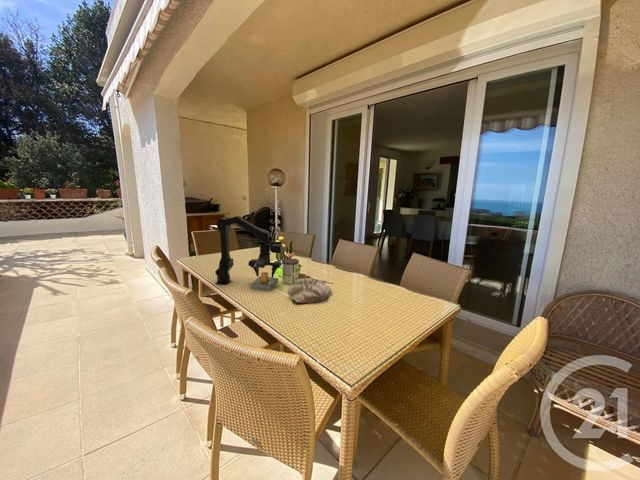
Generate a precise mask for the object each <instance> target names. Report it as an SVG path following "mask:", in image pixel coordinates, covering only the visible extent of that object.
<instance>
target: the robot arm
mask: <svg viewBox="0 0 640 480" xmlns="http://www.w3.org/2000/svg"><path fill="white" fill-rule="evenodd" d="M234 224H236V225H239V226H240V227H242V228H243V229H245V230H247V231H248V232H249V233H251V234H253V235H254V236H255V237H256V239H258V242H257V243H255V245H257V246H258V245H259V254H258V258H257V259H255V258H251V259H250V260H249V261H248V264H247V265H248V266H249V267H250V268H252V269H253V271H254V273H255V275H256V277H257V278H258V277H260V268H261V269H264V268H265V267H266V266H269V267H270V266H271V277H272V278H273V277H274V276H275V273H276V271H277V270H278V269H280V268H281V267H282V261H281V260H280V261H278V260H274V261H273V262H271V253H273V254H282V253H283V251H284V246H283V241H275V239H274V238H273V237H272V234H271V232H270V231H269V230H267V229H265V228H262V227H259V226H256V225H255V224H253V223H251V222H250V221H248V220H246V219H245V218H243V217H242V216H240V215H236V216H234V217H230V218H229V217H222V218H218V220H217V221H216V227H217V231H218V232H219V236H220V254H221V256H220V260H219V264H218V268H217V269H216V270H215V271H214V272H215V275H216V278H217V279H216V280H217V281H216V282H215V284H216V285H224V286H225V285H228V284H229V283H230V282H232V279H231V275H230V271H231V269H232V268H233V267H234V265H235V264H234V258H232V257H231V256H230V253H231V252H230V236H229V235H230V230H231V226H232V225H234Z"/></svg>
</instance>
